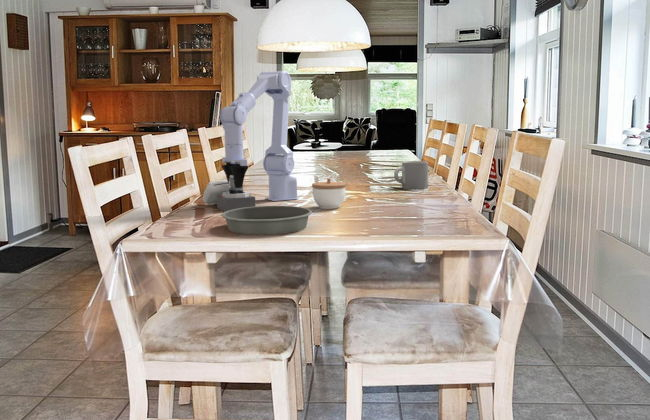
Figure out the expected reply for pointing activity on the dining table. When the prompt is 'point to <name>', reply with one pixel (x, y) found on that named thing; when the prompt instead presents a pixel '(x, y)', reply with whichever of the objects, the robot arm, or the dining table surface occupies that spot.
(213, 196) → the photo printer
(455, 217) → the dining table surface
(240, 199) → the octagonal frame panel
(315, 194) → the lidded jar
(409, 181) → the coffee mug
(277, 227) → the cake pan
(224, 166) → the robot arm
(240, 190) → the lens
